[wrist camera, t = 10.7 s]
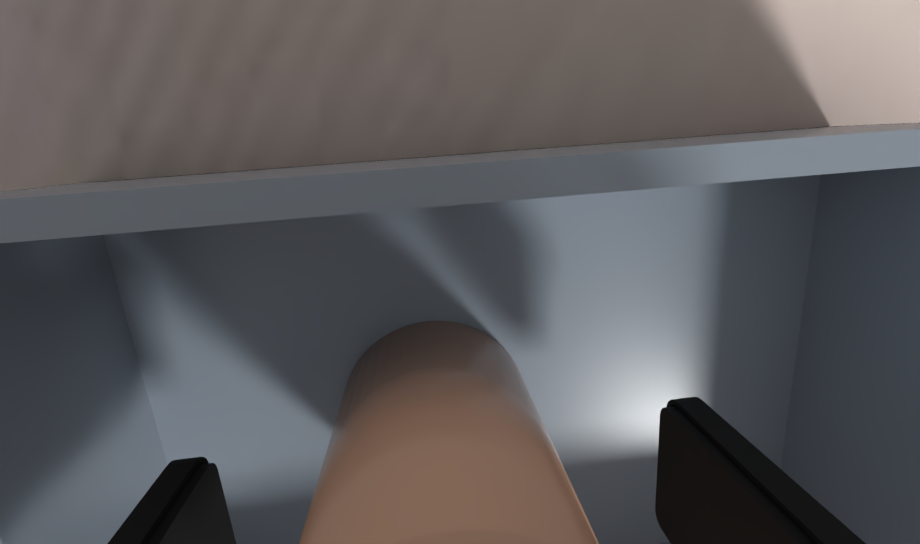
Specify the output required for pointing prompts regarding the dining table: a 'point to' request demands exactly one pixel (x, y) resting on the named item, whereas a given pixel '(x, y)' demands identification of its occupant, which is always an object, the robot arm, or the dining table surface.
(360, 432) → the tan rounded smooth part
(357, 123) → the dining table surface
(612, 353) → the tote
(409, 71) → the dining table surface
